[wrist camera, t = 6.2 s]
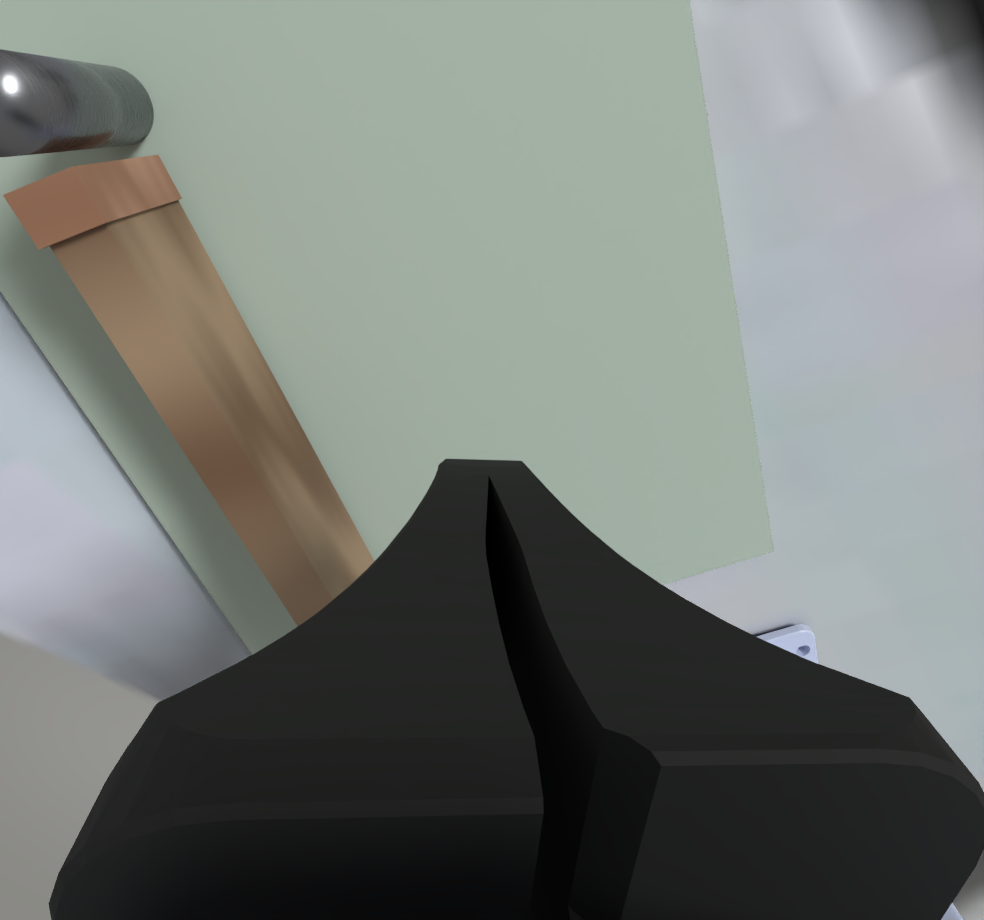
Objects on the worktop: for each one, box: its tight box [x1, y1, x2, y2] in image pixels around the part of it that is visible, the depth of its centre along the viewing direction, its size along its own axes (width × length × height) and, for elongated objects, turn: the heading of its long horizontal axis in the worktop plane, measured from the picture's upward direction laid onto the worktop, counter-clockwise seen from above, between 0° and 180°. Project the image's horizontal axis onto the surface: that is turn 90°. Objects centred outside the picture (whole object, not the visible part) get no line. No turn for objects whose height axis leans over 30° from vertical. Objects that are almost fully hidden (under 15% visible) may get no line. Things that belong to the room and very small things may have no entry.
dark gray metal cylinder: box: [0, 49, 154, 157], centre depth 17 cm, size 18×2×6 cm, turn 19°
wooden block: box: [3, 155, 374, 626], centre depth 17 cm, size 14×1×4 cm, turn 19°
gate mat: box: [0, 0, 774, 655], centre depth 18 cm, size 21×18×1 cm
